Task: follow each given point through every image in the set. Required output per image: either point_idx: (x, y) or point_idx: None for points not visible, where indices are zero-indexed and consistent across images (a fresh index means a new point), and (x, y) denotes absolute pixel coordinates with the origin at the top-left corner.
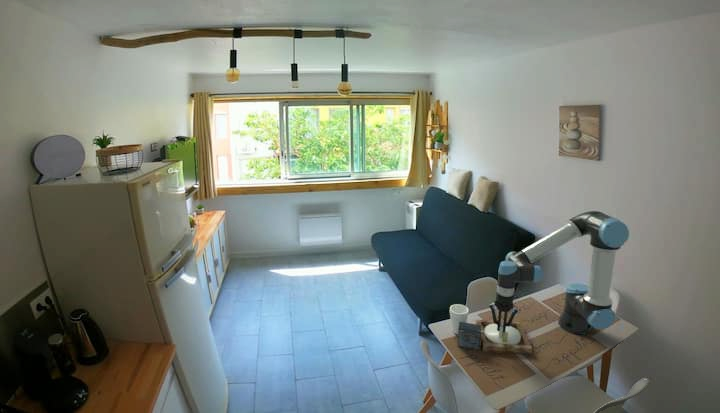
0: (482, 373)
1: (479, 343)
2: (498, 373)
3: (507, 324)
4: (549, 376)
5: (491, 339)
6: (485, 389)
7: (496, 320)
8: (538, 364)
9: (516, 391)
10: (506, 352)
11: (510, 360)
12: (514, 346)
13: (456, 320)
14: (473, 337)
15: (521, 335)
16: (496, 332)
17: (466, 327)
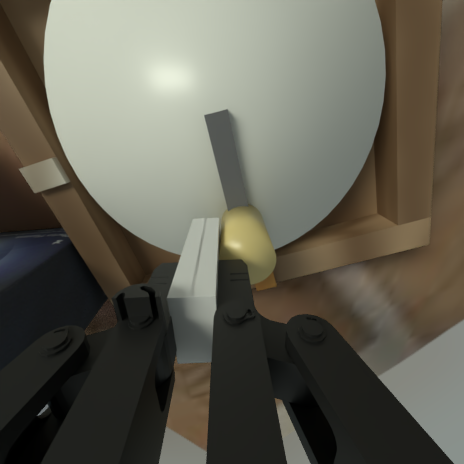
0: (171, 397)
1: (90, 320)
2: None
3: (285, 401)
4: (431, 336)
5: (149, 242)
6: (196, 441)
7: (77, 383)
8: (408, 283)
9: (290, 423)
10: None
11: (275, 302)
12: (309, 264)
13: None
14: None
15: (390, 73)
16: (165, 129)
17: None
